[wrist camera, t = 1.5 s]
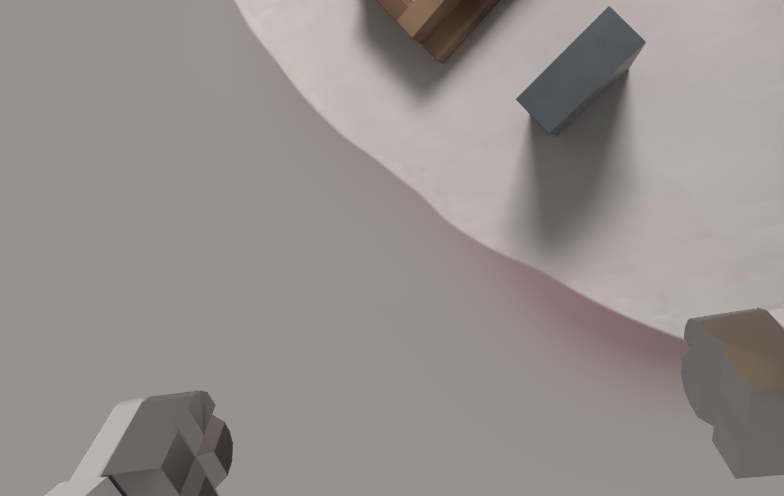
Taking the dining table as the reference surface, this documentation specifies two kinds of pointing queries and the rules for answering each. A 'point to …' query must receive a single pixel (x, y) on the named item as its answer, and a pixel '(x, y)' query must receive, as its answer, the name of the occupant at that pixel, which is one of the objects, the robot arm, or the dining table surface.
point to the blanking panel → (582, 72)
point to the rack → (438, 21)
